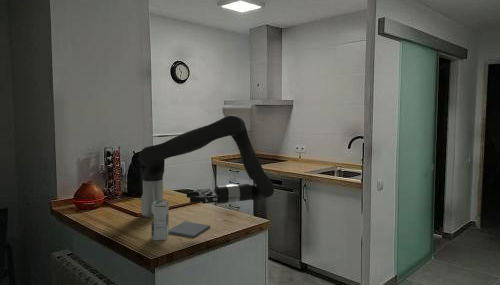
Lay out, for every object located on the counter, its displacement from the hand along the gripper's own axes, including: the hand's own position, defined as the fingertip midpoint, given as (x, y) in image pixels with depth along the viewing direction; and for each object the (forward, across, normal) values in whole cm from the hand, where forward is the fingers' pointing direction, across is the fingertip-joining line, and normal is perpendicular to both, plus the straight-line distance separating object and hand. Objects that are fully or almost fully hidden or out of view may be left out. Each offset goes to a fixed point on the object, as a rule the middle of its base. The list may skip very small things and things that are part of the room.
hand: (188, 197), depth 138 cm
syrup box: (+11, 0, +16) cm, 19 cm away
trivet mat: (-1, -5, +15) cm, 16 cm away
